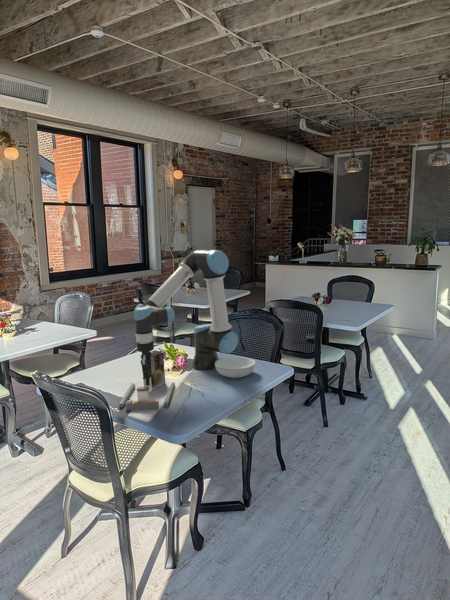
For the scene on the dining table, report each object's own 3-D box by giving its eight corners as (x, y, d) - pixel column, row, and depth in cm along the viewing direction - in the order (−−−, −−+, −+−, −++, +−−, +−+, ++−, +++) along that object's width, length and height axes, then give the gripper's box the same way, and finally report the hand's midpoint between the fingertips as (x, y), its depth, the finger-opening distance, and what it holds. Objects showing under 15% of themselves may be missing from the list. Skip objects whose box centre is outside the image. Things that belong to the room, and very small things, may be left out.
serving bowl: (262, 378, 221) (262, 365, 220) (224, 385, 213) (223, 371, 212) (245, 366, 240) (245, 354, 239) (209, 372, 232) (209, 359, 231)
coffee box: (157, 380, 222) (155, 350, 220) (165, 383, 218) (163, 352, 216) (143, 386, 216) (140, 354, 213) (151, 389, 211) (149, 356, 209)
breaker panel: (174, 386, 214) (174, 378, 213) (166, 409, 188) (165, 400, 187) (132, 387, 214) (131, 380, 214) (117, 410, 188) (117, 402, 188)
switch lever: (150, 403, 194) (149, 386, 193) (148, 406, 190) (147, 389, 189) (139, 403, 194) (138, 386, 193) (137, 407, 190) (136, 389, 189)
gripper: (139, 337, 203) (143, 386, 207) (133, 346, 190) (137, 397, 195) (155, 337, 203) (159, 385, 207) (150, 345, 190) (154, 396, 195)
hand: (148, 391), depth 201 cm, fingers closed
